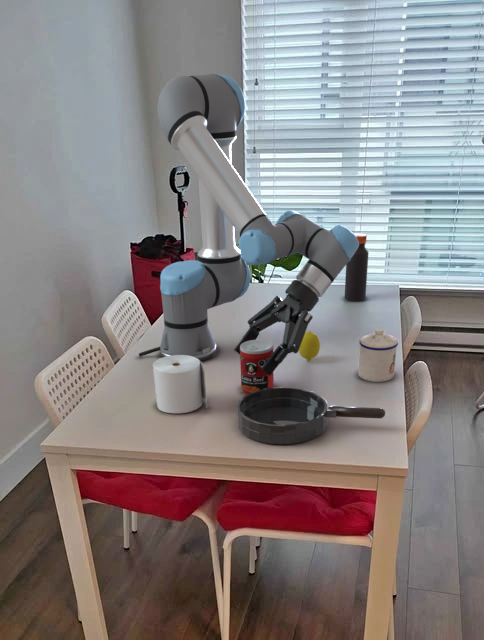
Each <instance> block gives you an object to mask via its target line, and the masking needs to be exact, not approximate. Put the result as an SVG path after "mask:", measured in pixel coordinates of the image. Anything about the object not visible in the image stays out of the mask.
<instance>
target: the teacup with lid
mask: <svg viewBox="0 0 484 640" xmlns="http://www.w3.org/2000/svg"><path fill="white" fill-rule="evenodd" d="M358 343H359V357H358V358H359V359H358V373H357V374H358V376H359V378H361V379H362V380H364V381H368V382H373V383H381V382H382V383H383V382H387V381H389V380H392V379H393V378H394V376H395V366H396V357H397V346H398V345H399V343H398V340H397V338H396V337H395V336H393V335H390V334H387V333H386V332H385V331H384V329H382V328H377V329H375V330H374V332H372V333H369V334H365V335H363V336H361V338H360V340H359V342H358Z"/></svg>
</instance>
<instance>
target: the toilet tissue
mask: <svg viewBox="0 0 484 640" xmlns="http://www.w3.org/2000/svg"><path fill="white" fill-rule="evenodd" d="M152 373H153V383H154V392H155V400H156V401H155V402H156V407H157V408H158V410H159V411H162V412H163V413H168V414H185V413H191V412H193V411H196V410H198V409H199V408H200V407H202V405H203V402H204V403H205V406H206V407H208V401H207V388H206V373H205V366H204V363H203V362H202V361H200V360H198V359H197V358H195V357H192V356H188V355H172V356H167V357H163V358H162V357H159V358H158V359H156V360H154V362H153V363H152Z"/></svg>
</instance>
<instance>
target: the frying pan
mask: <svg viewBox="0 0 484 640" xmlns="http://www.w3.org/2000/svg"><path fill="white" fill-rule="evenodd" d="M328 405H329V404H328V401H327V400H326V399H325V398H324V397H323V396H321V395H320V394H318V393H316V392H315V391H311V390H308V389H303V388H299V387H291V386H276V387H274V386H273V388H266V389H261V390H257V391H254V392H251V393H249V394H247V393H246V395H244V396H242V397H241V398H240V399H239V400H238V401H237V404H236V423H237V428H238V430H239V431H240V432H241V433H242V434H243V435H244V436H246V437H247V438H249V439H252V440H255V441H257V442H261V443H266V444H275V445H290V444H298V443H302V442H307V441H310V440H312V439H315V438H316V437H318V436H320V435H321V434H322V433H324V431H325V430H326V429H327V427H328V417H327V408H328Z"/></svg>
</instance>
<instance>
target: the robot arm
mask: <svg viewBox="0 0 484 640" xmlns="http://www.w3.org/2000/svg"><path fill="white" fill-rule="evenodd" d="M245 114H246V99H245V96H244V93H243V90H242V88H241V87H240V85H239V84H238V83H237V82H236V80H235V79H234V78H232V77H231V76H229V75H226V74H218V73H209V74H197V75H196V74H195V75H179V76H176V77H173V78H172V79H170V80H169V81H167V82H166V84H164V87H163V88H162V89H161V91H160V93H159V96H158V101H157V118H158V122H159V125H160V127H161V128H160V129H161V130H162V132H163V135H164V137H165V139H166V140H167V142H168V143H169V145H170V146H171V147H172V148H173V149H174V150H176V151H180V152H181V153H182V155H183V156H184V158H185V159H186V161H187V162H188V163H189V165H190V167H191V168H192V170H193V171H194V172H195V174H196V175H197V179H198V194H199V197H198V198H199V208H200V211H199V212H200V223H201V225H200V226H201V239H202V247H201V248H200V250H199V251H198V252H197V260H195V259H187V260H183V261H181V260H180V261H176V262H173V263H171V264H168V265H166V266H165V267H164V268H163V269H162V270H161V272H160V276H159V278H160V285H159V289H160V295H161V303H162V313H163V325H164V326H163V327H164V328H163V332H162V336H161V341H160V345H159V346H157V347H154V348H151V349H147V350H145V351H142V352H139V353H138V356H139V357H144V356H147V355H150V354H153V353H156V352H158V351H159V354H160V358H163V357H167V356H172V355H188V356H192V357H195V358H197V359H198V360H200V361H201V362H203V361H205V360H208V359H210V358H212V357H214V356H215V355H216V353H217V344H216V340H215V338H214V336H213V333H212V330H211V327H210V326H209V318H208V316H209V315H208V310H210V309H212V308H215V307H219V306H221V305H224V304H227V303H231V302H234V301H236V300H237V299H239V298H241V297H243V296H244V295H245V294H246V292H247V291H248V290H249V288H250V284H251V277H252V275H251V274H252V273H251V269H250V265H251V266H259V265H267V264H269V263H271V262H273V261H276V260H279V259H283V258H286V257H290V256H293V255H296V254H300V255H302V256H303V257H305V258H306V259H308V260H307V261H306V262H305V264H304V265H303V267H302V268H301V269H300V271H299V272H298V273H297V274H296V275H295V278H296V279H293V280H292V281H291V283H290V284H289V285H288V287H287V288H286V289H285V295H286V296H285V297H284V299H282V298H281V297H280V296H279V295H276V296H275V297H274V298H273V299H272V300H271V301H270V302H269V303H268V304H266V306H264V307H263V308H262V309H260V310H259V311H258V312H257V313H255V314H254V315H253V316H251V318H249V319H248V320H247V324H248V325H249V326H248V327H249V328H248V330H247V331H246V332H245V334H244V335H243V336H242V338H241V340H240V341H239V342H238V344H237V345H236V346H235V348H234V349H233V351H234V352H236V353H237V354H238V355H239V356H240V345H241V344H242V343H244V342H246V341H250V340H257V339H258V337H259V336H260V332H262V331H263V330H265V329H267V328H269V327H271V326H273V325H275V324H276V323H284V324H285V326H284V332H283V336H282V337H283V338H282V343H279V345H278V346H277V347H276V349H274V350H273V354H272V355H271V356H270V358H269V359H268V360H267V362H266V363H265V364H264V366H263V367H262V368H261V369H262V370H263V371H264V372H266V373H267V374H268V375H269V376H270V375H271V374H272V373H273V374H274V372H275V370H276V369H277V368H278V366H279V365H280V364H282V363H283V361H284V360H285V359H286V358H287V356H288V355H289V354H292V353H293V354H298V353H299V348H300V345H301V342H302V340H303V337H304V334H305V333H306V332H307V329H308V327H309V325H310V322H311V321H312V320H313V318H314V316H313V315H312V314H311V313H310V312H311V311H312V310H313V309H314V308H315V306H317V304H318V302H319V301H320V300H319V298H322V297H323V295H324V294H325V293H326V292H327V290H328V289H329V287H330V286H331V285H332V284H333V282H334V281H335V280H336V278H337V277H338V276H339V274H340V273H341V272H342V271H343V269H344V268H346V264H347V263H348V262H349V261H350V260H351V258H352V256H353V255H354V253H355V252H356V250H357V249H358V247H359V241H358V239H357V237H356V236H355V235H354V234H355V233H354V232H353V231H351V230H350V229H349V228H347V227H346V226H344V225H341V224H335V225H334V226H332V228H331V229H327V228H325V227H323V226H322V225H320V224H318V223H316V222H315V221H313V220H312V219H310V218H308V217H307V216H306V215H304V214H303V213H299V212H297V211H295V210H293V209H292V210H291V209H289V210H287V211H285V212H284V213H283V214H282V215H280V217H279V218H278V219H277V221H276V223H273V222H272V220H271V219H270V218H269V216H268V215H267V213H266V212H265V211H264V209H263V208H262V206H261V205H260V203H259V202H258V200H257V199H256V198H255V196H254V195H253V193H252V192H251V191H250V189H249V187H248V186H247V185H246V183H245V182H244V180H243V179H242V177H241V176H240V175H239V173H238V172H237V170H236V169H235V168H234V165H232V145H233V143H234V142H235V141H236V139H237V127H239V126H240V125H241V123H242V122H243V119H244V118H245ZM235 231H236V233H237V235H238V236H239V237H240V238H239V240H238V246H237V245H236V238H235V237H236V236H235V234H236V233H235Z"/></svg>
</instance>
